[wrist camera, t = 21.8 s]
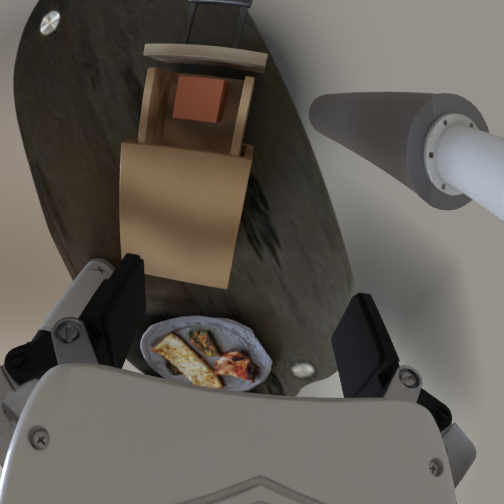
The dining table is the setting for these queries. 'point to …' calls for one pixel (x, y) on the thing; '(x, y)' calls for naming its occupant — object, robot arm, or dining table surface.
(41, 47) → the dining table surface
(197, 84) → the block
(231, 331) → the food plate
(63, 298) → the travel mug
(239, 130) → the drawer
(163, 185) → the cabinet
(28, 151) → the dining table surface
